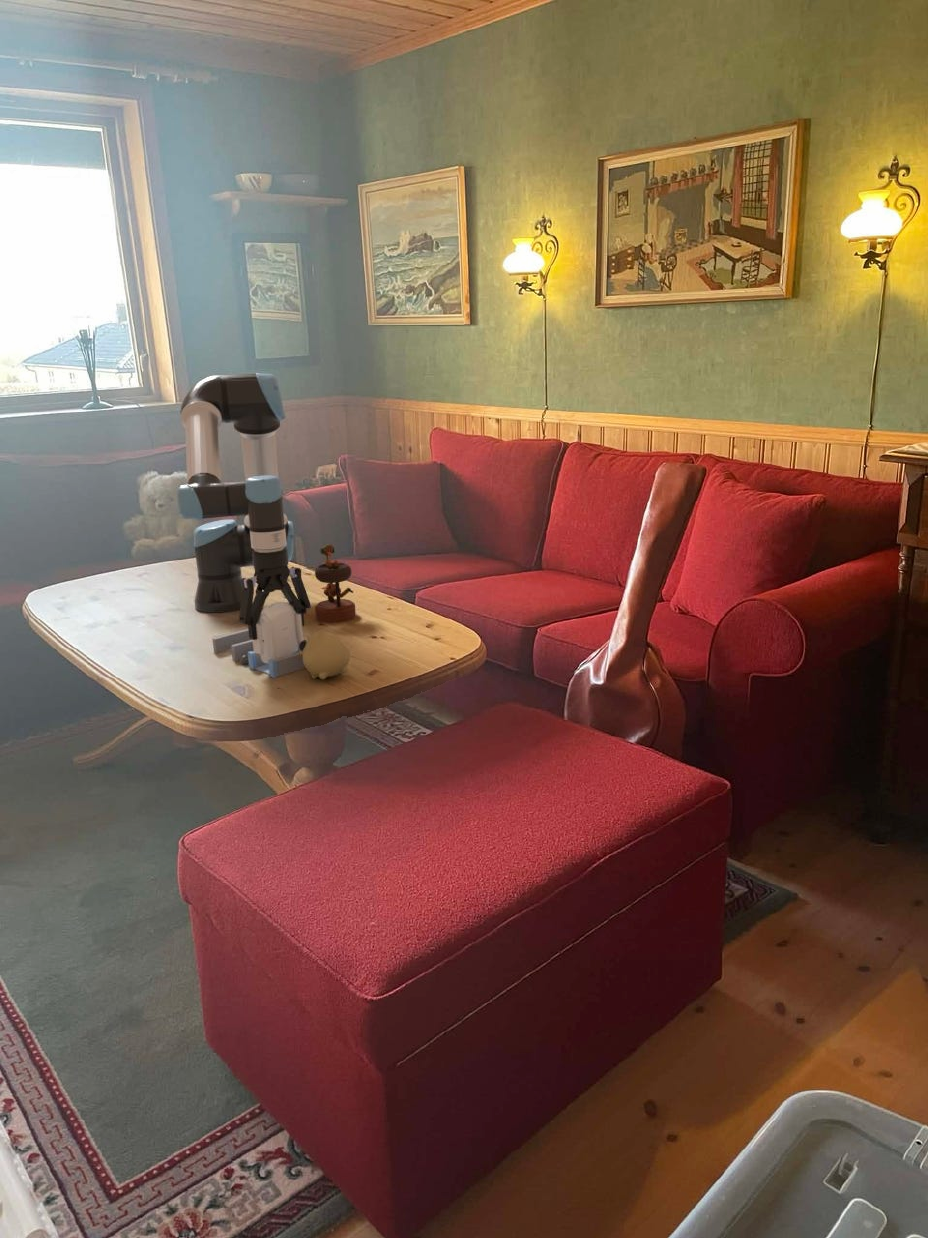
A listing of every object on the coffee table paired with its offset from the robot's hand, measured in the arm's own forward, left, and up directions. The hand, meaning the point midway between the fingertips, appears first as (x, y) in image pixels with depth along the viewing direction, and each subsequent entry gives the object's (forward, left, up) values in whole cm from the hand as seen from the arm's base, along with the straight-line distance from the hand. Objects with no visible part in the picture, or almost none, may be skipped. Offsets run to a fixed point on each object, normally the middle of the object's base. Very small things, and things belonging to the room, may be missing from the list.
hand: (278, 646), depth 207 cm
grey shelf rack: (-8, +3, -5) cm, 10 cm away
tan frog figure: (+13, +3, -5) cm, 14 cm away
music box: (-21, +32, -5) cm, 39 cm away
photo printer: (0, 0, -3) cm, 3 cm away
